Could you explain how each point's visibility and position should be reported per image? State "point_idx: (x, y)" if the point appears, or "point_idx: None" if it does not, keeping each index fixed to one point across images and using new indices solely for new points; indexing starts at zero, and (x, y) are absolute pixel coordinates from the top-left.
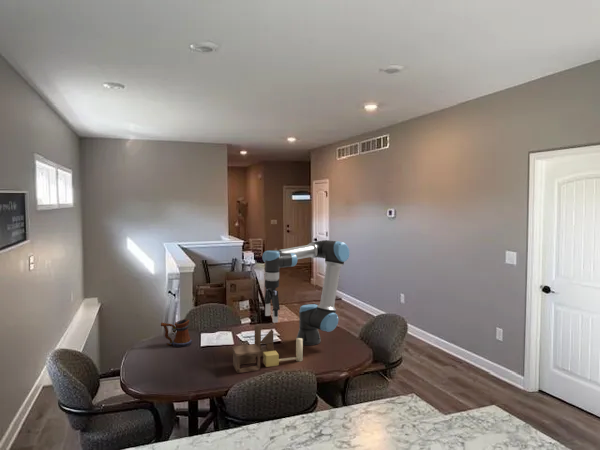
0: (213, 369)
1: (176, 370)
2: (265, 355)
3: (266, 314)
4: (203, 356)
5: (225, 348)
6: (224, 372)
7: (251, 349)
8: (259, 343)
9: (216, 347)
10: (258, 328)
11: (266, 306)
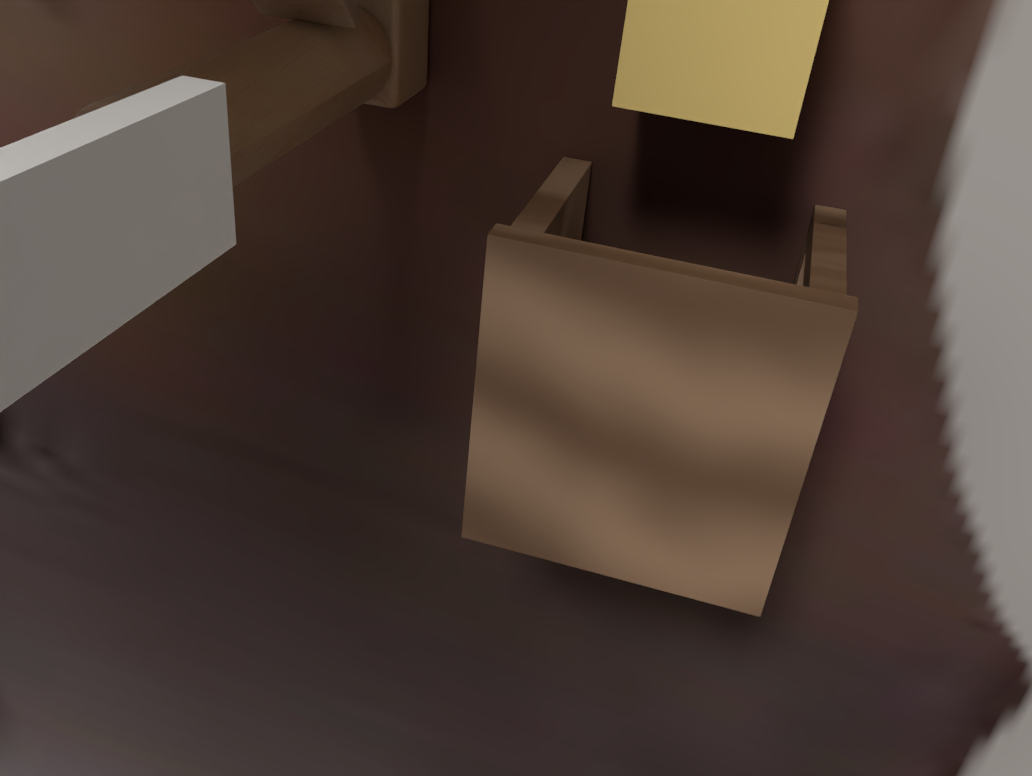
0: (561, 579)
1: (452, 768)
2: (747, 127)
3: (209, 234)
4: (223, 521)
5: None
6: None
7: (696, 394)
8: (347, 69)
9: None
10: None
11: (16, 370)
